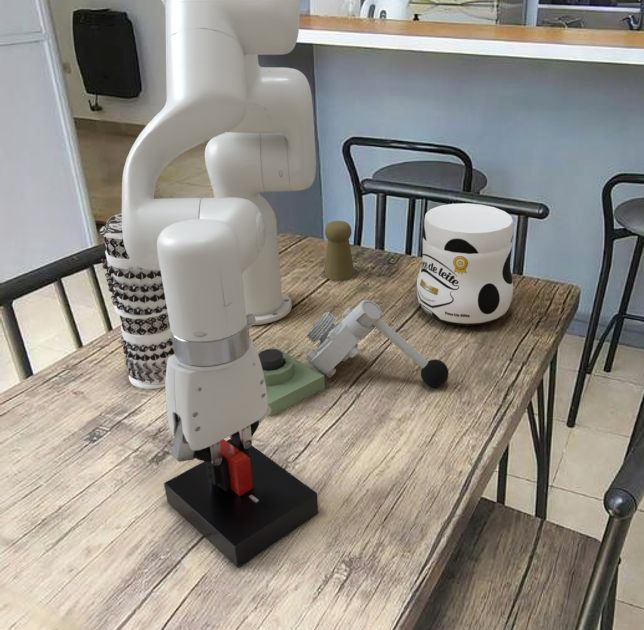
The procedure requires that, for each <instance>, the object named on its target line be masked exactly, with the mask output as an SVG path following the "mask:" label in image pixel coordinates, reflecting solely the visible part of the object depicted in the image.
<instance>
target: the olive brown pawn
mask: <svg viewBox="0 0 644 630" xmlns="http://www.w3.org/2000/svg"><path fill="white" fill-rule="evenodd" d="M324 236H325V238H326V239H327V245H326V253H325V254H326V255H325V267H324V277H325V278H326V279H328V280H331V281H338V282H339V281H340V282H341V281H347V280H348V281H349V280H350V279H353V278H354V277H355V268H354V263H353V256H352V250H351V243H350V238H351V236H352V227H351V225H350V223H348V222H347V221H343V220H333V221H330V222H328V223H327V224H326V225H325V226H324Z"/></svg>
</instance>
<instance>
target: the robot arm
mask: <svg viewBox="0 0 644 630" xmlns="http://www.w3.org/2000/svg"><path fill="white" fill-rule="evenodd" d="M161 2H162V4H163V6H164V8H165V9H164V11H165V77H166V78H165V84H166V85H165V87H166V90H165V91H166V98H165V99H166V100H165V105H164V106H163V108H161V110H160V111H159V112H158V113H156V115H154V117H153V118H152V119H151V120H150V121H149V122H148V123H147V124H146V125H145V127H144V128H143V129H142V130H141V132H140V133H139V135H138V136H137V138H136V139H135V141H134V143H133V144H132V146H131V148H130V150H129V151H128V155H127V157H126V160H125V163H124V166H123V171H122V178H121V213H122V233H123V242H124V246H125V249H126V252H127V254H128V256H129V258H130V259H131V261H132V262H133V263H134V264H136V265H137V266H139V267H141V268H143V269H147V270H160V271H161V276H162V282H163V288H164V294H165V300H166V306H167V312H168V318H169V324H170V330H171V337H172V343H173V349H174V355H173V356H171V357H169V358H168V360H167V367H166V381H165V387H164V388H165V389H164V390H165V405H166V414H167V415H166V417H167V424H168V429H169V433H170V435H172V436H173V437H174V440H173V442H172V443H173V444H172V448H171V453H170V455H171V457H172V458H174V459H175V460H176V461H177V462H180V463H181V462H186V461H187V462H188V461H192V460H194V459H196V460H199V461H202V462H204V461H205V463H206V470H207V476H208V479H209V481H210V482H211V483H212V484H214V485H216V484H217V485H218V486H219V487H220V488H222V489H223V490H224V491H227V490H229V489H230V487H231V484H230V476H229V469H228V463H227V461H226V460H224V459H223V458H222V452H221V445H220V441H221V440H223V439H224V440H226V439H227V438H228V437H229V439H227V440H226V441H227V442H229V443H230V444H231V445H233V446H234V447H235V448H237V449H238V450H240V451H241V452H243V453H244V454H246V455H247V456H248V457H249V452H248V448H250V447H251V445H252V446H253V436H254V435H255V433H256V431H257V429H258V428H259V426H260V423H262V422H263V421H264V420H265V419H266V418H267V417H268V416H269V414H270V412H271V408H270V406H269V405H268V402H267V391H266V384H265V379H264V374H263V369H262V366H261V362H260V359H259V356H258V354H259V353H258V350H257V348H256V345H255V342H254V341H253V340H252V338H250V328H251V327H253V326H260V325H261V326H262V325H267V324H270V323H274V322H277V321H279V320H282V319H283V318H285V317H287V315H288V314H290V312H291V310H292V305H293V303H292V299H291V298H290V297H289V296H288V295H287V294H286V293H284V292H283V287H282V276H281V264H280V250H279V238H278V235H279V234H278V224H277V217H276V213H275V211H274V209H273V208H272V206H271V205H270V203H269V202H268V200H266V199H265V197H264V196H263V195H262V194H260V193H270V192H277V193H278V192H279V193H280V192H296V191H297V192H300V191H304V190H308V189H309V188H310V187H312V185H313V184H314V182H315V179H316V173H317V156H316V140H315V138H316V137H315V136H316V135H315V120H314V104H313V96H312V95H313V94H312V89H311V85H310V83H309V81H308V78H307V77H306V75H305V74H304V73H303V72H302V71H300V70H298V69H297V68H292V67H291V68H290V67H276V66H275V67H273V66H272V67H268V66H267V67H266V66H265V67H263V66H260V64H259V56H260V55H261V56H266V55H267V56H269V55H270V56H278V55H288V54H290V53H291V52H292V51H293V50H294V49H295V47H296V44H297V41H298V38H299V33H300V32H299V31H300V6H301V5H300V4H301V3H300V2H301V1H300V0H161ZM207 141H208V142H207ZM205 142H207V144H206V146H205V150H204V163H205V168H206V173H207V175H208V178H209V181H210V185H211V190H212V193H213V197H171V198H170V197H169V198H167V197H165V198H164V197H163V198H155V193H156V192H155V191H156V185H157V182H158V179H159V177H160V175H161V173H162V172H163V171H164V170H165V168H166V167H167V166H168V165H169V164H170V163H171V162H172V161H173V160H175V158H177V157H179V156H180V155H182V154H183V153H185V152H187V151H189V150H191V149H193V148H195V147H197V146H199V145H201V144H203V143H205Z"/></svg>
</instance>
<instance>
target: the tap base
mask: <svg viewBox="0 0 644 630" xmlns="http://www.w3.org/2000/svg"><path fill="white" fill-rule="evenodd" d="M248 452H249V459H250V467H251V476H252V484H253V489H251V490H250V491H248V492H246V493H245V494H243V495H242V496H239V495H238V494H237V493H235V492H234V491H233V490H232V489H229V490H227V491H224V490H223V489H222V488H220V487H219V486H218V485H217V484H216V485H214V484H212V483H211V482H210V481H209V479H208V476H207V470H206V463H205V461H202V462H200V463H198V464H196V465H195V466H193V467H190V468H189V469H187V470H185V471H184V472H182V473H180V474H178V475H176V476H173V478H170V479H169V480H166V481H164V482H163V487H164V491H165V497H166V501H167V504H168V505H170V506H171V508H172V509H174V510H175V511H176V512H178V514H179V515H180V516H181V517H182V518H184V520H185V521H186V522H188V523H189V524H190V525H191V526H192V527H193V528H194V529H195V530H197V532H198V533H200V534H201V535H202V536H203V538H205V539H206V540H207V541H208V542H209V543H211V545H213V547H214V548H216V549H217V550H218V551H219V552H220V553H221V554H222V555H223V556H225V557H226V559H228V560H229V561H230V562H231V563H232V564H233V565H234V566H235V567H236V568H240V567H241V566H242V565H244V564H245V563H247V562H249V561H250V560H251V559H253V558H254V557H256V556H257V555H259V554H260V553H262V552H263V551H264V550H267V548H269V547H270V546H272V545H273V544H275V543H277V542H278V541H279V540H281V539H283V537H285V536H287V535H288V534H289V533H291V532H292V531H294V530H295V529H298V527H300V526H301V525H302V524H304V523H306V522H307V521H308V520H310V519H311V518H314V516H316V515H317V514H319V502H318V501H319V500H318V499H319V498H318V493H317V492H316V491H315V490H314V489H312V488H311V487H309V486H308V485H307V484H306V483H304V482H303V481H302V480H300V479H299V478H297V477H296V476H294V475H293V474H292V473H291V472H289V471H288V470H286V469H285V468H284V467H282V466H281V465H279V464H278V463H277V462H275V461H274V460H273V459H272V458H270V457H269V456H268V455H266V454H264V453H263V452H262V451H260V450H259V449H258V448H257V447H255V446H253V444H252V445H251V447H250V448H248Z"/></svg>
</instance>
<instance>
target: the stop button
mask: <svg viewBox="0 0 644 630" xmlns="http://www.w3.org/2000/svg"><path fill="white" fill-rule="evenodd" d="M277 349H278V348H277ZM277 349H271V348H267V349H264V350H262V351H260V352H259V353H258V356H259V359H260V362H261V366H262V369H263V370H266V371H272V370H277V369H279V368H281V367H283V365H284V362H283V353H282V352H283V351H282V350H281V349H279V350H277ZM280 350H281V351H282V352H281V351H280Z"/></svg>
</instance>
